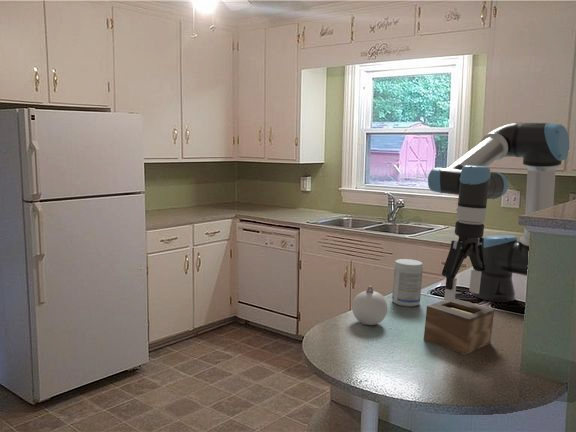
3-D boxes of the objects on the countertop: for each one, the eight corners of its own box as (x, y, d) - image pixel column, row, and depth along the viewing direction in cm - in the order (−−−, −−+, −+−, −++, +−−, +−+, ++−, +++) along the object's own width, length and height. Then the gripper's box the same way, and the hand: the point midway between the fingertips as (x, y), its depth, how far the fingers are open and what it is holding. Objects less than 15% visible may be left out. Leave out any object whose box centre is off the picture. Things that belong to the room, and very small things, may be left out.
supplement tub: (425, 305, 185) (429, 263, 183) (405, 309, 180) (409, 266, 178) (405, 297, 193) (408, 257, 191) (385, 300, 188) (389, 259, 186)
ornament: (360, 331, 157) (363, 291, 155) (346, 319, 166) (348, 281, 164) (391, 328, 160) (395, 290, 158) (375, 317, 170) (378, 280, 168)
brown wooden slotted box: (449, 329, 162) (452, 297, 161) (490, 343, 153) (494, 309, 151) (423, 339, 153) (426, 305, 151) (465, 355, 143) (469, 319, 142)
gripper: (479, 216, 159) (471, 286, 162) (433, 223, 142) (425, 300, 145) (504, 220, 153) (495, 292, 156) (459, 227, 136) (450, 307, 140)
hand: (462, 296), depth 151 cm, fingers open, 13 cm apart
